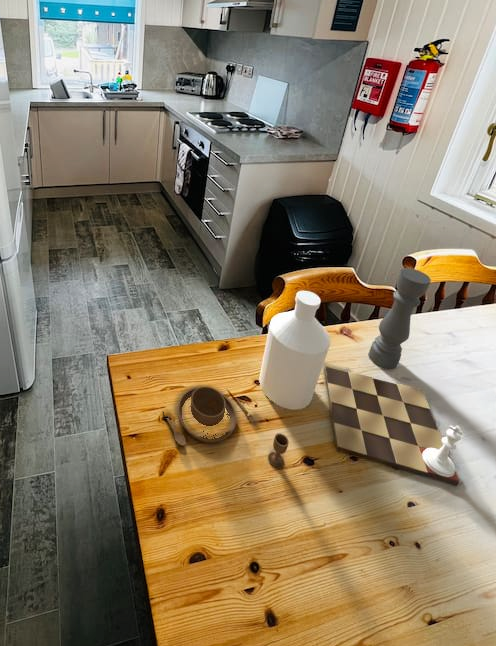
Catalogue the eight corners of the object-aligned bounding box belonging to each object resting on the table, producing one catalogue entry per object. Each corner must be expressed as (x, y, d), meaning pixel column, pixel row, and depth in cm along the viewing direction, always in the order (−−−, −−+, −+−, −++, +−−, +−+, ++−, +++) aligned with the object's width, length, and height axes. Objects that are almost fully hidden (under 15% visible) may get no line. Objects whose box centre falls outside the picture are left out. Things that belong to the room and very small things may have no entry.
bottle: (281, 418, 82) (307, 324, 71) (247, 373, 92) (265, 286, 81) (325, 400, 86) (355, 310, 75) (287, 359, 96) (309, 275, 85)
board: (420, 393, 88) (422, 389, 87) (457, 486, 71) (460, 481, 70) (323, 370, 93) (325, 365, 93) (336, 450, 76) (337, 446, 75)
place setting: (223, 380, 90) (226, 361, 87) (289, 463, 73) (295, 442, 71) (155, 408, 83) (157, 388, 80) (211, 507, 66) (215, 486, 64)
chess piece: (425, 444, 76) (443, 408, 72) (456, 463, 73) (477, 427, 69) (419, 462, 73) (438, 426, 69) (451, 483, 70) (473, 446, 66)
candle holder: (391, 374, 93) (427, 288, 83) (364, 358, 97) (394, 274, 87) (400, 360, 97) (435, 276, 86) (373, 345, 101) (404, 264, 91)
